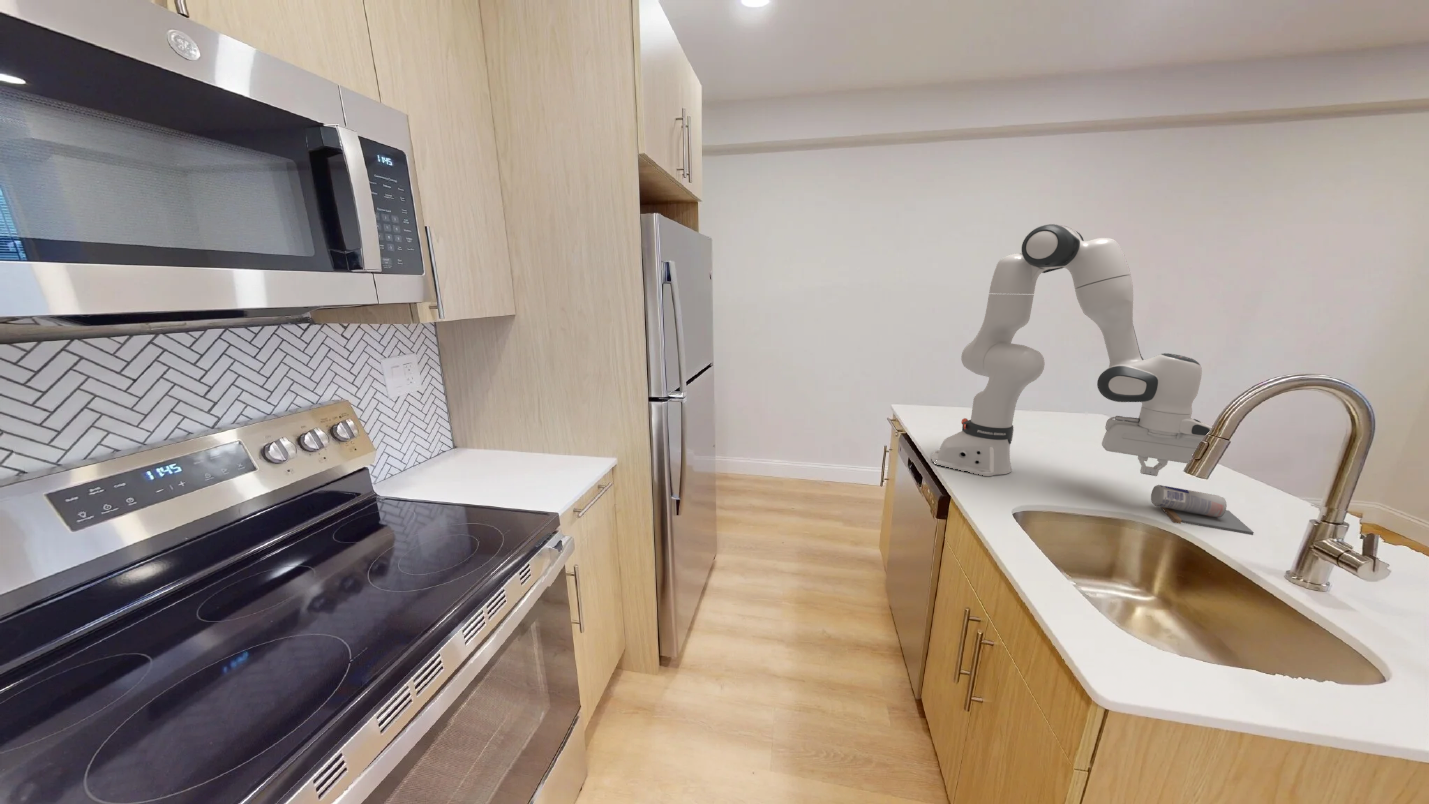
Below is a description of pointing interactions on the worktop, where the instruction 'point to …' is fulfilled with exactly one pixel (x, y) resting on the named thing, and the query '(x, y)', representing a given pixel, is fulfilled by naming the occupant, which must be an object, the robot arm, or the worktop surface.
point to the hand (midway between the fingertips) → (1148, 474)
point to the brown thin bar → (1172, 515)
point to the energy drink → (1188, 501)
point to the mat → (1215, 521)
